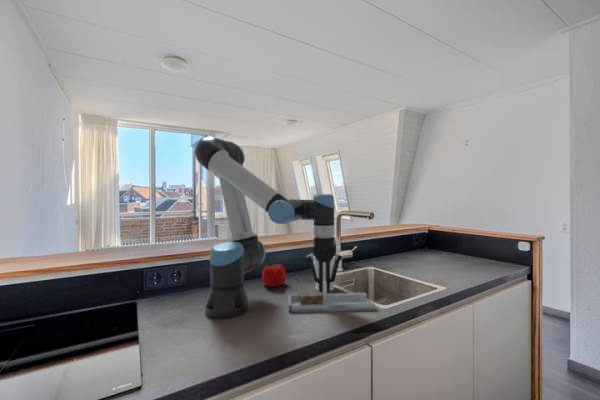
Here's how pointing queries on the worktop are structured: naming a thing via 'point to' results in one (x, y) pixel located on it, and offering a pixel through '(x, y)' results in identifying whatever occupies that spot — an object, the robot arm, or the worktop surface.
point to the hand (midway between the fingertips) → (324, 300)
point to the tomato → (274, 275)
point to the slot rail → (333, 303)
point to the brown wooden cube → (317, 297)
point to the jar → (324, 272)
